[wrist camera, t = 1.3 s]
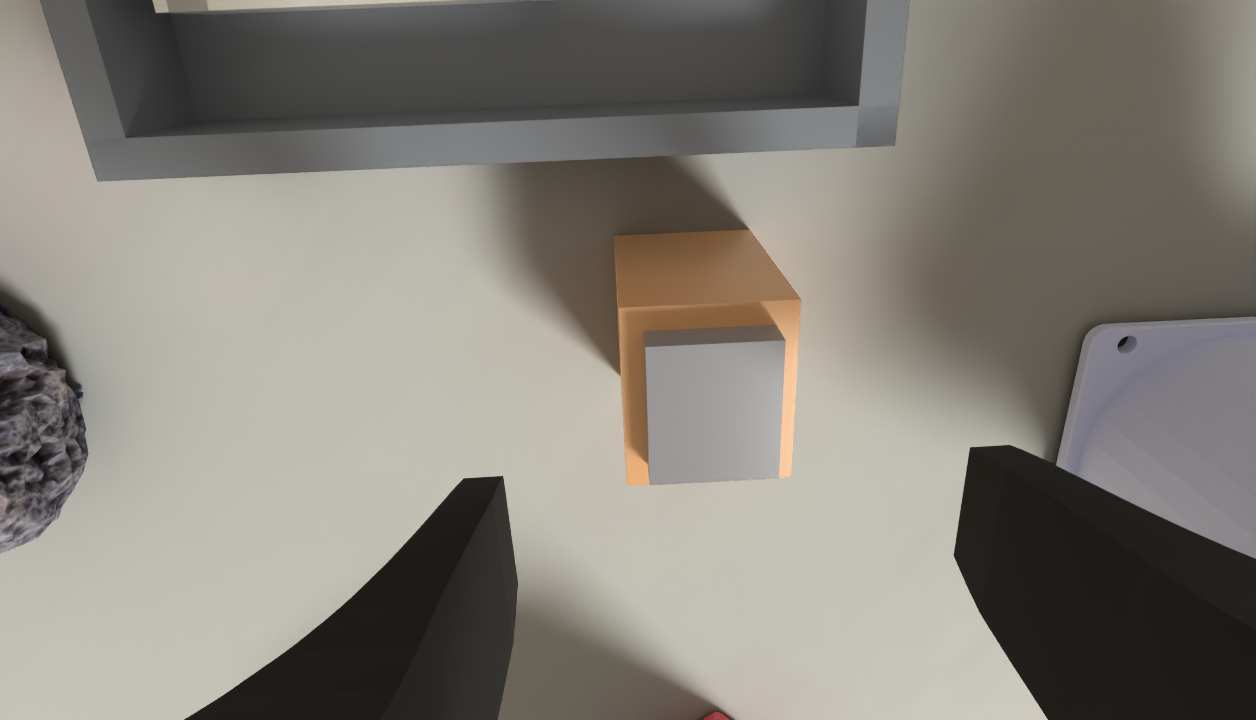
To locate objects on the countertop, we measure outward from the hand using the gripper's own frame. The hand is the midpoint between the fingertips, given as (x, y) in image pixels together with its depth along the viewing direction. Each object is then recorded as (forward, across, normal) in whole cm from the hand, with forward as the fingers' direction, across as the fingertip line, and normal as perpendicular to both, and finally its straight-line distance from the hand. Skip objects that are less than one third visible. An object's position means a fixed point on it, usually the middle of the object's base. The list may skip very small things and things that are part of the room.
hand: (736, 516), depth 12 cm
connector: (+10, 0, 0) cm, 10 cm away
